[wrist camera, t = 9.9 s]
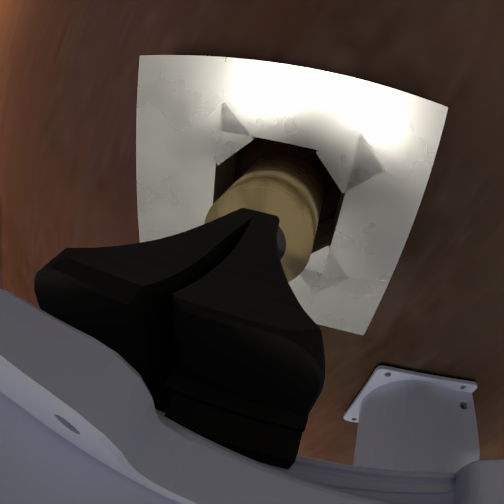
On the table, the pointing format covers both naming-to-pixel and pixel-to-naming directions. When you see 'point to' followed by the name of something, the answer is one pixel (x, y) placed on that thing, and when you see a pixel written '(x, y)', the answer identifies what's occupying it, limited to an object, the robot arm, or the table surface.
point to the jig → (296, 133)
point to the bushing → (281, 202)
